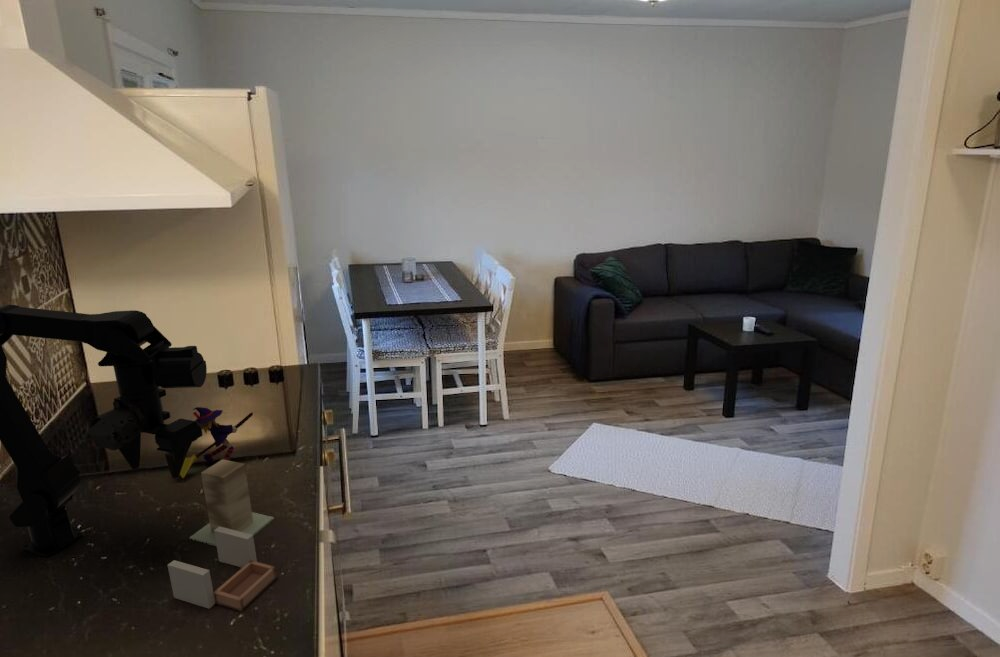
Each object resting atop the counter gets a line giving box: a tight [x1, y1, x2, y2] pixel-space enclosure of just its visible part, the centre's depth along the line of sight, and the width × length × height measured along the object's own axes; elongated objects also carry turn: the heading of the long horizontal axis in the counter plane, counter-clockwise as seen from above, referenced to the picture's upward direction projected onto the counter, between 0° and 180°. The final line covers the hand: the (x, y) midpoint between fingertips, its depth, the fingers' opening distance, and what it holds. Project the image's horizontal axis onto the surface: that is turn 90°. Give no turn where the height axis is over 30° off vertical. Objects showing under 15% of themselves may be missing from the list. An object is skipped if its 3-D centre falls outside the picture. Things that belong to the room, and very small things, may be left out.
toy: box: [179, 406, 254, 479], centre depth 132 cm, size 8×19×15 cm, turn 118°
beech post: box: [200, 459, 253, 533], centre depth 111 cm, size 5×5×12 cm
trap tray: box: [213, 560, 278, 612], centre depth 97 cm, size 5×8×2 cm, turn 159°
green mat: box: [189, 511, 275, 547], centre depth 113 cm, size 10×10×1 cm
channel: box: [167, 526, 258, 609], centre depth 99 cm, size 7×10×6 cm
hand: (155, 472), depth 107 cm, fingers open, 9 cm apart
